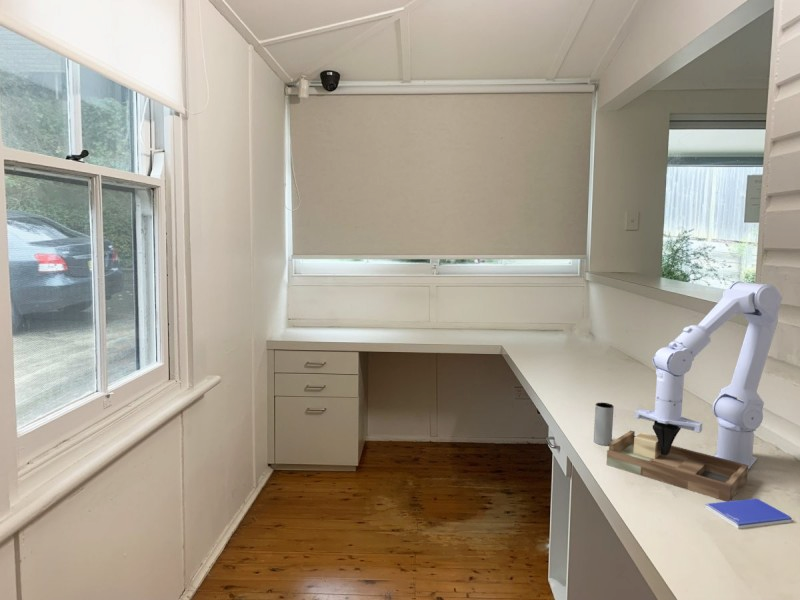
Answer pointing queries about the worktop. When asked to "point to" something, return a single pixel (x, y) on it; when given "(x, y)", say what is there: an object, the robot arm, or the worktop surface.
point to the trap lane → (681, 468)
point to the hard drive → (748, 513)
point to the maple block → (647, 445)
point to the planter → (603, 423)
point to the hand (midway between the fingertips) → (665, 453)
